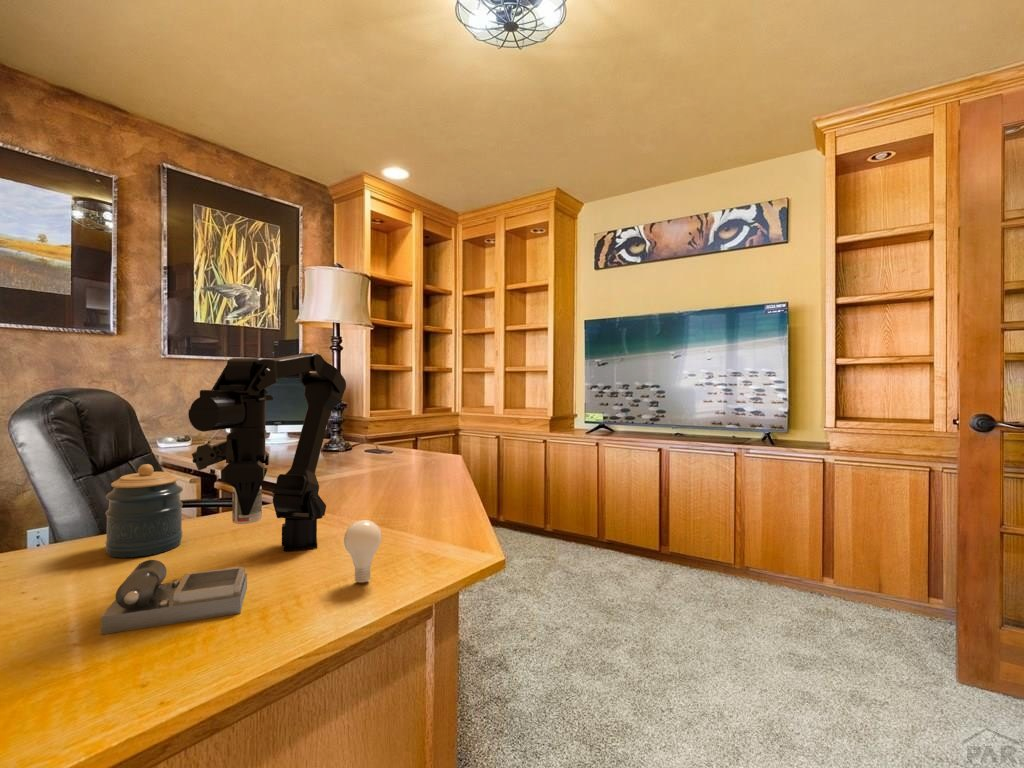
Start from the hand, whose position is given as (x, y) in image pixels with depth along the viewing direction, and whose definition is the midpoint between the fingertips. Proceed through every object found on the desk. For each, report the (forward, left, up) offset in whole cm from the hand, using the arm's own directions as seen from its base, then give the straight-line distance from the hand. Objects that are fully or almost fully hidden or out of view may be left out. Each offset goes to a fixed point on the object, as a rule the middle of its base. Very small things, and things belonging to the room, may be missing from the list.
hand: (247, 511), depth 90 cm
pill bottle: (0, 0, -2) cm, 2 cm away
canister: (+21, -23, -12) cm, 33 cm away
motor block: (+8, +12, -12) cm, 18 cm away
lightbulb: (-19, +12, -12) cm, 25 cm away
